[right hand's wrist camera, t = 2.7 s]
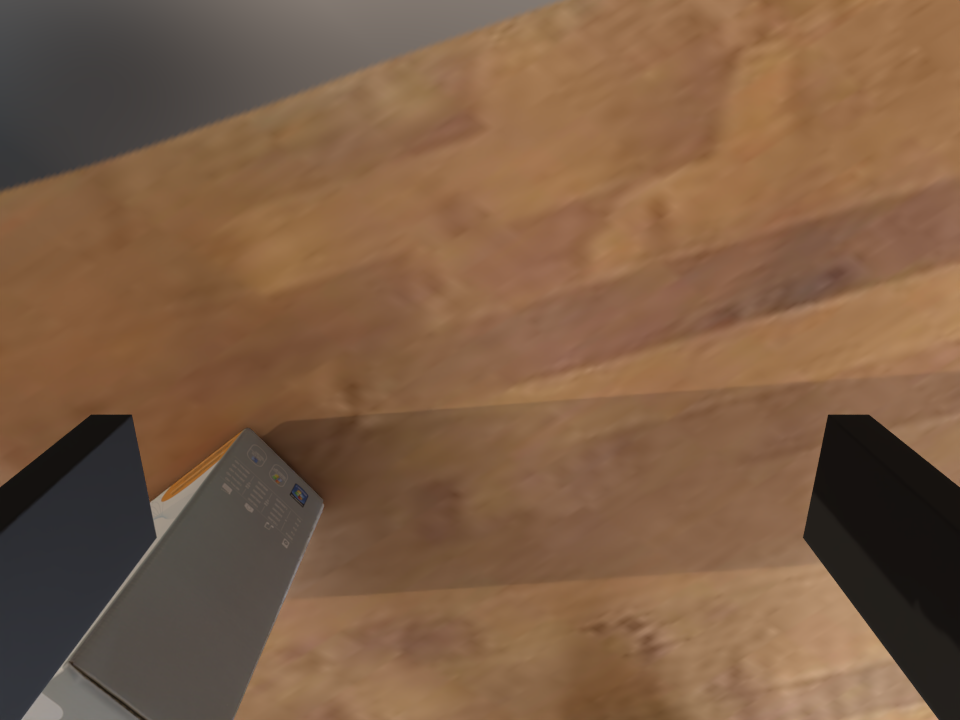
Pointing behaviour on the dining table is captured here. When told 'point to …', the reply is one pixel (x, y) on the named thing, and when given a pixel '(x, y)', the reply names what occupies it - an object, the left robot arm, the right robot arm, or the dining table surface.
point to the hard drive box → (194, 596)
